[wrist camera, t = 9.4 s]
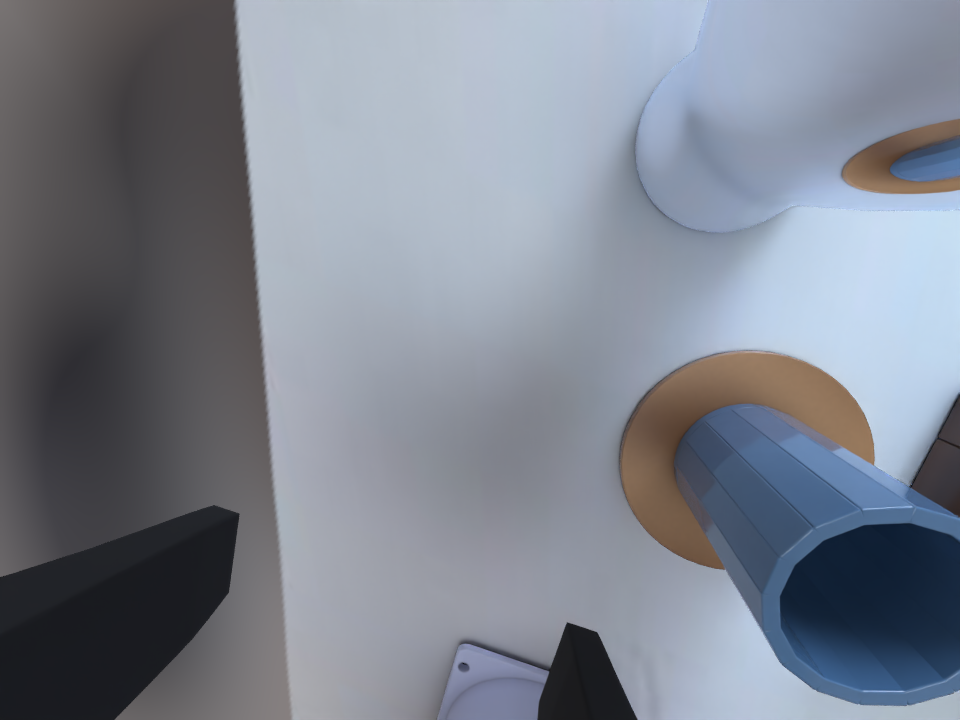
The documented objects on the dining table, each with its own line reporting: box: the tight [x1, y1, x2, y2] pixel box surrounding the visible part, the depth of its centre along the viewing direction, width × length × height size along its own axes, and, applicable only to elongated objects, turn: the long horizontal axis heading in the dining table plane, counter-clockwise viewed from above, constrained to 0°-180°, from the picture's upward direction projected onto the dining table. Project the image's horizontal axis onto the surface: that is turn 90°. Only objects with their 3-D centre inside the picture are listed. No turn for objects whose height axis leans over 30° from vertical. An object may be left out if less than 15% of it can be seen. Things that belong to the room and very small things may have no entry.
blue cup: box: [674, 404, 960, 706], centre depth 13 cm, size 5×5×8 cm
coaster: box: [620, 350, 875, 570], centre depth 17 cm, size 9×9×1 cm
